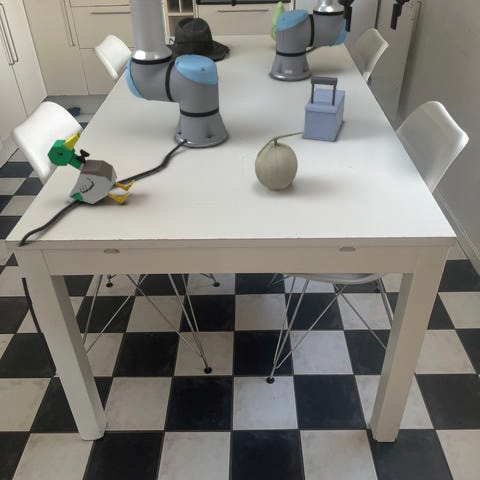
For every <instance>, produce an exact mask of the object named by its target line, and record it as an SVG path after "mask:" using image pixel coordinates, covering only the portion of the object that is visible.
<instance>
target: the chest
mask: <svg viewBox="0 0 480 480" xmlns="http://www.w3.org/2000/svg"><path fill="white" fill-rule="evenodd" d="M345 100H346V95H345V96H344V98H343V100H342V102H341V104H340V106H339V108H338V110H337V112H336V113H328V112H318V111H308V110H305V109H304V127H303V139H311V140H319V141H326V142H327V141H328V142H335V140H336V137H337V135H338V133H339V130H340V128H341V126H342V123H343V119H344V109H345Z"/></svg>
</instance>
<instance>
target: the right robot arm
mask: <svg viewBox="0 0 480 480" xmlns="http://www.w3.org/2000/svg"><path fill="white" fill-rule="evenodd" d="M394 1H395V2H396V3H393V5H392V6H393V7H392V12H391V18H390V29H392V30H394V31H395V30H397V27H398V18H399V17H401V16H402V12H403V7H404V5H406V3H409V2H410V1H411V0H394ZM354 2H355V0H317V3H316V4H315V5H314V6H313V8H312V13H309V11H308V10H307V9H303V8H302V9H291V10H287V11H286V12H284V13H282V14H280V15H279V16H278V17H277V23H276V41H275V55H274V60H273V62H272V66H271V68H270V76H271V77H272V78H273V79H276V80H278V81H285V82H295V81H302V80H305V79H307V78H309V77H310V75H311V74H310V73H311V72H310V71H311V70H310V66H309V62H308V58H307V53H309V52H310V51H313V50H314V49H316V48H318V47H319V48H320V47H329V48H330V47H335V46H340V45H342V44H343V43H344V42H345V40H346V38H347V35H348V33H351V26H352V16H353V7H352V4H353V3H354ZM307 48H309V49H307Z"/></svg>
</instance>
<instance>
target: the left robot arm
mask: <svg viewBox="0 0 480 480" xmlns="http://www.w3.org/2000/svg"><path fill="white" fill-rule="evenodd" d="M200 4H202V0H195V5H200ZM128 6H129V13H130V19H131V26H132V33H133V41H134V49H133V50H132V52H131V53H130V58H129V59H128V61H126V64H125V68H126V69H125V71H124V72H125V73H124V74H125V76H124V77H125V81H126V85H127V87H128V90H129V92H131V94H132V95H133V96H135V97H136V98H138V99H143V100H146V101H156V102H167V103H176V104H178V106H179V116H178V121H177V125H176V130H175V140H176V142H177V143H178V144H177V145H176V146H175V147H174V148H172V149H171V150H170V151H169V152H168V153H167V154H166V156H165V157H164V159H163V161H162V162H161V163H160V164H159V165H158V166H157V165H156V167H154V168H151V169H149V170H146V171H143V172H140V173H136V174H135V175H132V176H129V177H126V178H124V179H121V180H118V181H116V182H117V183H120V184H122V185H123V184H125V183H127V182H132V181H133V180H136V179H139V178H141V177H143V176H146V175H149V174H152V173H154V172H157V171H159V170H160V169H161V168H163V167H164V166H165V165H166V164H167V162H168V159H169V158H171V156H172V155H173V154H174V153H175V152H176V151H178V150H179V149H180V148H181V147H182V146H184V147H188V148H197V149H199V148H200V149H201V148H211V147H214V146H217V145H219V144H222V143H223V142H224V141H225V140H226V139H227V130H226V129H227V128H226V126H225V123H224V120H223V117H222V115H221V112H220V93H219V92H220V91H219V90H220V89H219V73H218V67H217V64H216V62H215V61H214V60H213V59H209V58H207V57H204V56H200V55H182V56H179V57H177V58H176V61H175V60H173V58H172V51H171V50H170V49H169V48H168V47H167V46H166V44H167V43H166V34H165V33H166V32H165V26H164V15H163V5H162V0H128ZM235 6H237V0H231V7H235ZM113 187H117V185H115V184H113V186H112V188H113ZM81 202H82V201H80V200H75V201H71V202H70V203H69V204H67V205H66V206H65V207H64V208H62V209H60V211H59V212H57V213H56V214H55V215H54V216H53V217H51V218H50V220H49V221H47V222H46V223H44V225H41V226H39V227H37V228H35V229H32V230H30V231H29V232H27V233H26V234H24V236H23V237H22V238H21V240H20V242H19V243H18V247H19V248H21V247H24V244H25V242H26V241H27V240H28V239H29V238H30V237H31V236H33V235H35V234H37V233H40V232H41V231H44V230H46V229H47V228H49V227H50V226H51V225H52V224H53V223H54V222H55V221H56V220H57V219H59V218H60V217H61V216H62V215H64V213H66V212H67V211H68V210H69V209H71V208H73V207H75V206H76V205H78V204H79V203H81ZM21 282H22V287H23V291H24V295H25V299H26V303H27V306H28V310H29V313H30V315H31V319H32V321H33V324H34V327H35V329H36V332H37V334H38V337H39V340H40V342H41V345H42V348H43V350H44V353H45V356H46V359H47V361H48V365H49V367H50V371H51V373H52V376H53V377H56V376H57V371H56V369H55V366H54V365H55V364H54V363H53V359H52V357H51V354H50V351H49V348H48V346H47V343H46V340H45V338H44V335H43V333H42V329H41V327H40V323H39V322H38V319H37V316H36V312H35V309H34V305H33V303H32V299H31V296H30V292H29V288H28V283H27V278H26V277H21Z"/></svg>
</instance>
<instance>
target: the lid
mask: <svg viewBox="0 0 480 480" xmlns="http://www.w3.org/2000/svg"><path fill="white" fill-rule="evenodd" d="M338 81H339V80H338V77H334V76H333V77H332V76H319V75H311V78H310V85H311V92H310V98H309V99H308V101H306V104H305V105H304V111H305V110H308V111H318V112H328V113H336V112H337V110H338V108H339V106H340V104H341V102H342V100H343V98H344V96H345V97H346V90H341V89H337V86H338ZM315 85H323V86H332V88H331V89H330V88H320V87H316V88H315Z"/></svg>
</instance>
